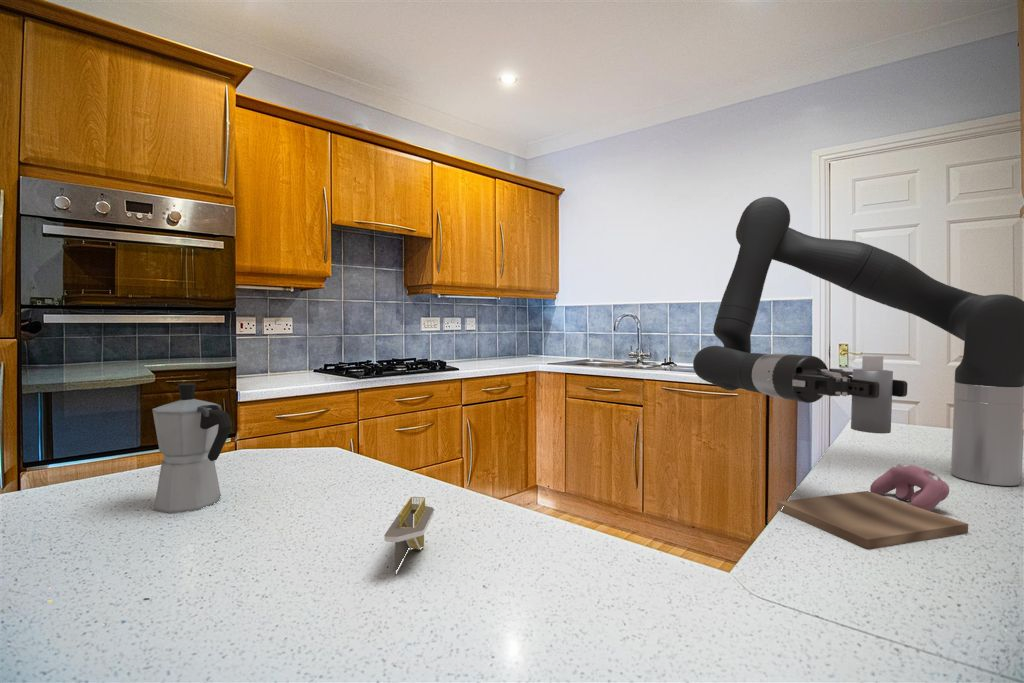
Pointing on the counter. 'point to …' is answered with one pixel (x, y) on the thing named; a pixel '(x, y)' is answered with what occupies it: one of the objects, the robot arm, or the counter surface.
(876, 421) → the grey cylinder with tab
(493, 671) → the counter surface
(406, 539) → the platform
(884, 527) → the walnut board
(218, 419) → the coffee maker
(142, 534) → the counter surface
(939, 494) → the video game controller
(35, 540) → the counter surface
